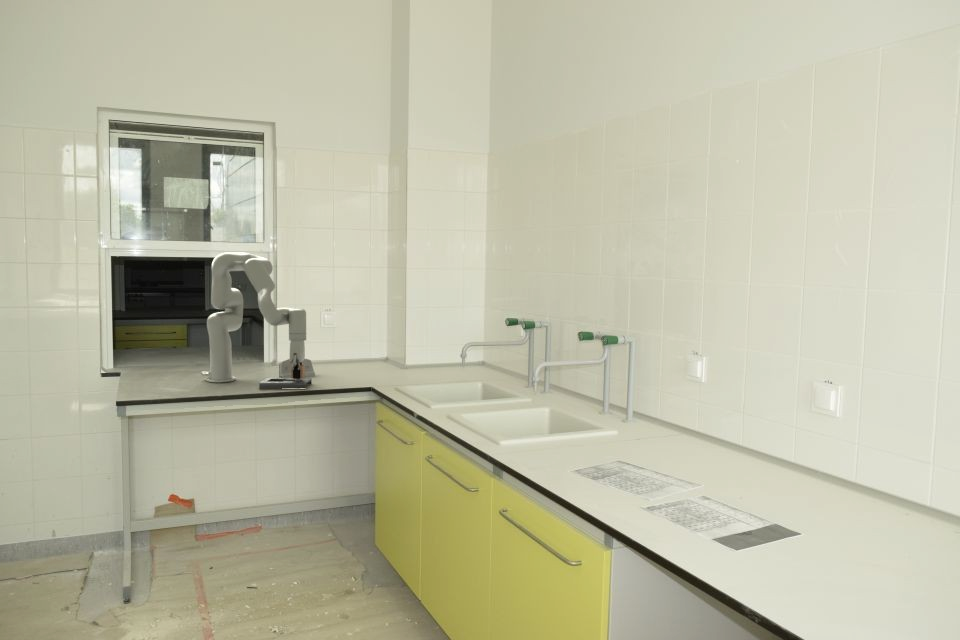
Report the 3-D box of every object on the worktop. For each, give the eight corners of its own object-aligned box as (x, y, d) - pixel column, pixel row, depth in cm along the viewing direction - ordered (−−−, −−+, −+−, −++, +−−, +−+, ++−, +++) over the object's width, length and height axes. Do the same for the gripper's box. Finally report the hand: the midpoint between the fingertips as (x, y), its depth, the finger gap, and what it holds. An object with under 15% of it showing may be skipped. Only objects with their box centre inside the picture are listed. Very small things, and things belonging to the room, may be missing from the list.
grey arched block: (281, 379, 339) (279, 358, 341) (278, 381, 343) (276, 360, 345) (316, 376, 348) (313, 355, 350) (312, 377, 352) (310, 357, 354)
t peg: (291, 386, 318) (291, 366, 317) (293, 384, 323) (293, 364, 322) (302, 386, 318) (302, 366, 317) (305, 384, 323) (304, 364, 322)
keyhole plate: (259, 389, 314) (259, 382, 313) (267, 383, 327) (267, 377, 326) (305, 389, 314) (305, 383, 314) (311, 383, 327) (311, 377, 327)
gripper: (293, 334, 327) (294, 374, 329) (284, 339, 310) (285, 380, 312) (310, 334, 327) (310, 374, 329) (301, 339, 310) (302, 381, 312)
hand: (298, 377), depth 320 cm, fingers closed on t peg, 5 cm apart
